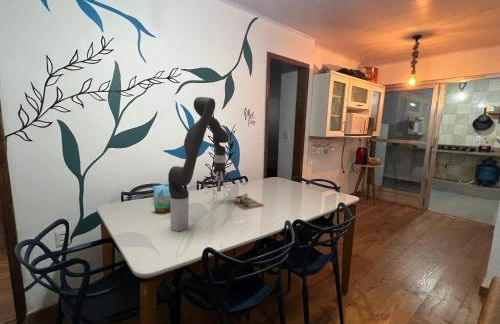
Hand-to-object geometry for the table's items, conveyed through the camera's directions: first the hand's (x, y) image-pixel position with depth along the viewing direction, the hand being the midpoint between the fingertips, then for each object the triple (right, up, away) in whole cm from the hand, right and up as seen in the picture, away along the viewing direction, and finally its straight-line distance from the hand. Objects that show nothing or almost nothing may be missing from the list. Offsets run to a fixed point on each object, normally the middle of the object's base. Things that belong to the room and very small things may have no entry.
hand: (219, 185), depth 170 cm
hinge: (+19, -12, +3) cm, 23 cm away
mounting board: (+19, -14, +3) cm, 24 cm away
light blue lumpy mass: (-37, -11, +2) cm, 38 cm away
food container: (-33, -15, -18) cm, 40 cm away
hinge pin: (0, -4, +1) cm, 4 cm away
